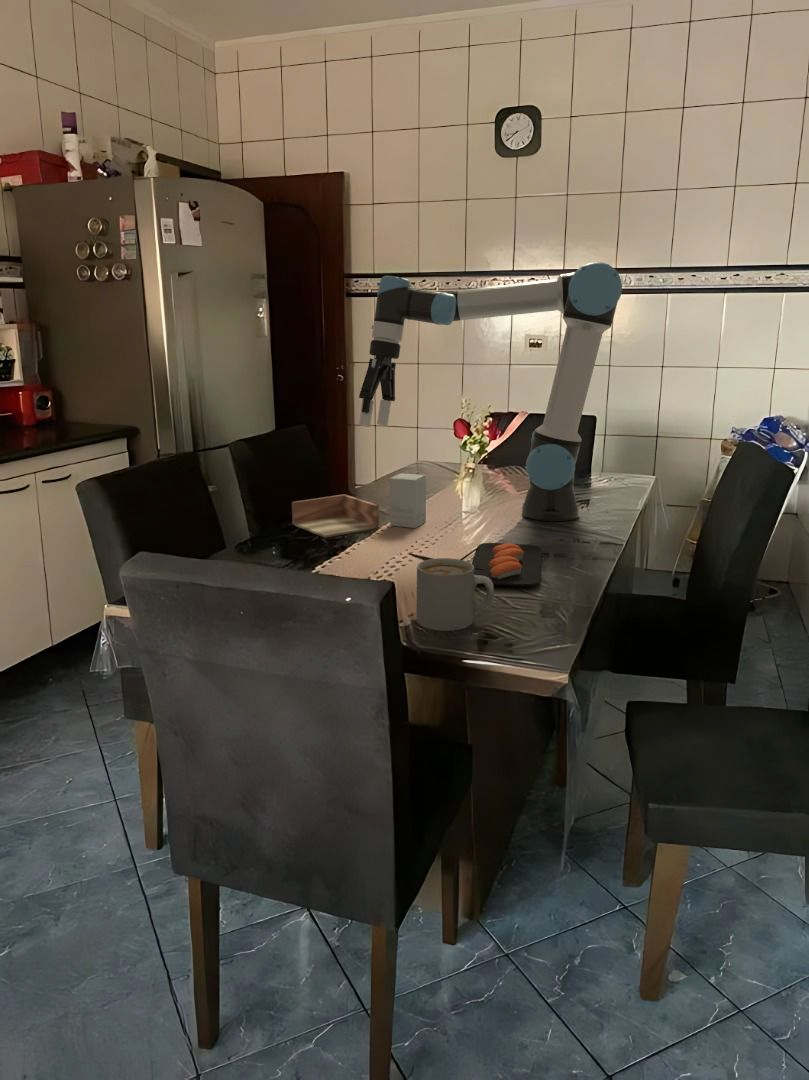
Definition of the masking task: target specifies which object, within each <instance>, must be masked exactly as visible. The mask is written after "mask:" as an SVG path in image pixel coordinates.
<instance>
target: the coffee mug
mask: <svg viewBox="0 0 809 1080" xmlns="http://www.w3.org/2000/svg"><path fill="white" fill-rule="evenodd" d="M479 584H480V585H481V584H482V585H484V586H485V589H486V595H485V597H484V598H483V599H478V598H477V597H476V595H475V591H476V587H477V586H478V585H479ZM494 596H495V588H494V585H493V583H492V581H491V580H490V579H489V578H488V577H486V576H480V575H474V566H473V565H472V562H469V561H466V560H464V559H463V560H460V559H459V558H449V557H447V558H446V557H443V558H442V557H440V558H439V557H438V558H434V559H429V560H425V559H424V560H423V561H421V562H419V563H417V565H416V623H417V624H418V625H420V626H421V627H423V628H426V629H429V630H434V631H442V632H443V631H444V632H449V631H451V632H452V631H459V630H462V629H466V628H468V627H470V626H472V624H473V621H474V614H475V613H476V612H477V611H480V610H483V609H485V608H487V607H489V606H490V605H491V603H492V602H493V600H494Z"/></svg>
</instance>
